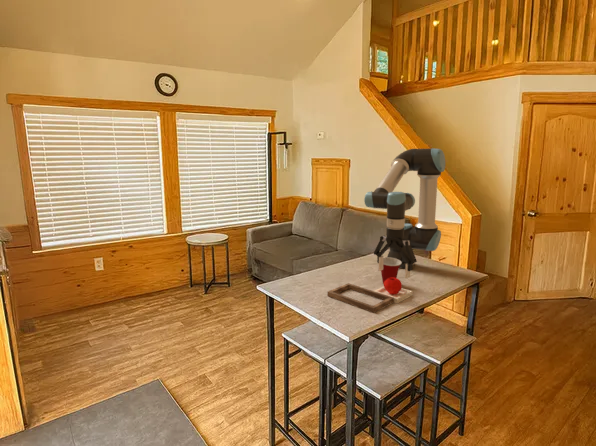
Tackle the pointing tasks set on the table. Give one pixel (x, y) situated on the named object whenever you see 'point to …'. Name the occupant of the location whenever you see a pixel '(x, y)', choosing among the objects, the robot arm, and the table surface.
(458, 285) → the table surface
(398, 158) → the robot arm
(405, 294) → the dish
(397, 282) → the apple
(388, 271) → the plastic cup
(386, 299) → the pocket frame
